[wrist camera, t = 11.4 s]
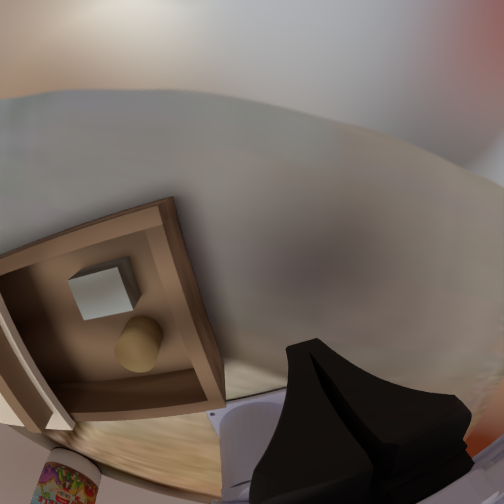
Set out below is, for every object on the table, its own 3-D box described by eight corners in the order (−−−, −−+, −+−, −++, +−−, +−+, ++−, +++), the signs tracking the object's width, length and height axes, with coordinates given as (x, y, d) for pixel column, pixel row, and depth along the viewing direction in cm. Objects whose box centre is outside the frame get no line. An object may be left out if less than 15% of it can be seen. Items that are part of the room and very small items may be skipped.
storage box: (223, 365, 23) (226, 407, 18) (42, 387, 22) (23, 418, 18) (172, 196, 19) (157, 205, 14) (-18, 263, 18) (-51, 281, 14)
